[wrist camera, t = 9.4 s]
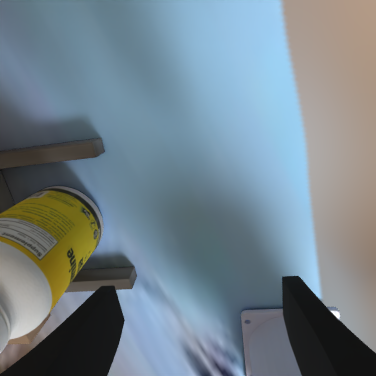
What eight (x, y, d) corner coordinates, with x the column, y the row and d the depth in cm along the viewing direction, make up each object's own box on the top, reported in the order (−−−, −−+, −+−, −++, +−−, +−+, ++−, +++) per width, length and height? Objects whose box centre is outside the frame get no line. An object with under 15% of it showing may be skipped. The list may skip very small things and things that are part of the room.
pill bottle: (88, 263, 23) (-16, 412, 12) (21, 227, 22) (-149, 354, 12) (119, 210, 20) (25, 337, 10) (47, 168, 20) (-135, 258, 9)
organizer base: (145, 311, 24) (137, 341, 21) (-23, 317, 26) (-51, 345, 24) (85, 76, 17) (60, 74, 14) (-138, 113, 19) (-198, 117, 16)
